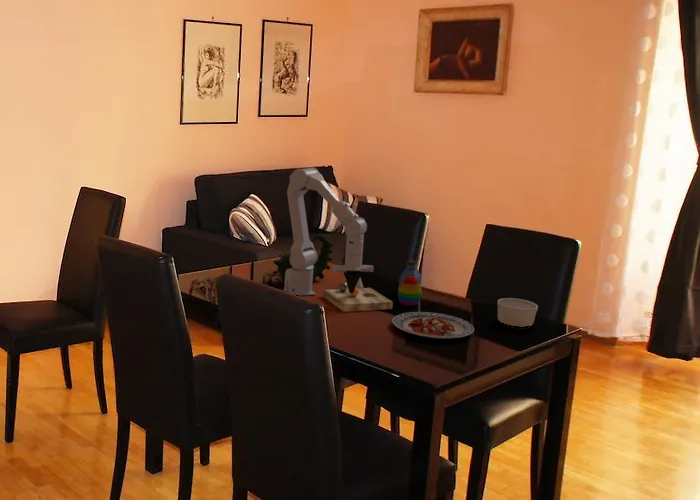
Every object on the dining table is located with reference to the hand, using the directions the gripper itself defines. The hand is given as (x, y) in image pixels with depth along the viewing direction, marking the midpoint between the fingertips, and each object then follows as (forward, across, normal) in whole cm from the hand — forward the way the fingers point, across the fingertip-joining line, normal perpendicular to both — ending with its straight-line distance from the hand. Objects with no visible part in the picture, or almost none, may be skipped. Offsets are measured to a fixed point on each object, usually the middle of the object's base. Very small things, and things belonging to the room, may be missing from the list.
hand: (351, 292), depth 276 cm
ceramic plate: (+5, +15, -32) cm, 35 cm away
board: (+4, +3, 0) cm, 5 cm away
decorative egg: (+4, +21, -4) cm, 22 cm away
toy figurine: (+4, -8, +29) cm, 30 cm away
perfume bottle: (+4, +28, +10) cm, 30 cm away
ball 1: (0, 0, +6) cm, 6 cm away
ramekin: (+5, +47, -30) cm, 56 cm away
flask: (+4, +10, +19) cm, 22 cm away
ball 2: (0, +1, 0) cm, 1 cm away
